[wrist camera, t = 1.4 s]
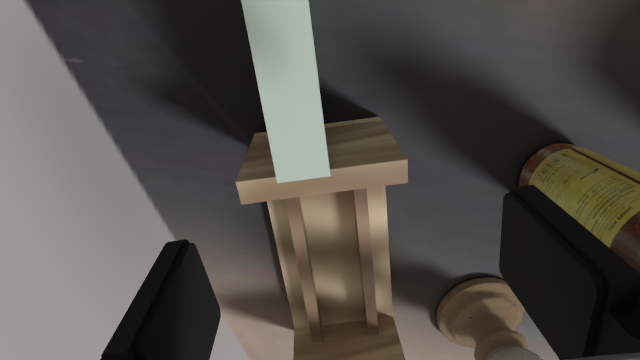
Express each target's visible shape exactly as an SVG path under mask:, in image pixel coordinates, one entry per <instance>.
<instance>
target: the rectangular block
mask: <svg viewBox="0 0 640 360" xmlns="http://www.w3.org/2000/svg"><path fill="white" fill-rule="evenodd" d="M241 2H242V7H243V13H244V18H245V23H246V28H247V33H248V38H249V43H250V48H251V53H252V58H253V63H254V68H255V73H256V78H257V83H258V89H259V94H260V99H261V104H262V109H263V114H264V119H265V124H266V129H267V134H268V139H269V144H270V149H271V154H272V159H273V164H274V170H275V175H276V180H277V183H283V182H290V181H298V180H306V179H313V178H321V177H328V176H331V175H330V167H329V159H328V151H327V144H326V136H325V128H324V120H323V112H322V104H321V96H320V89H319V81H318V73H317V65H316V57H315V49H314V41H313V34H312V26H311V18H310V10H309V2H308V0H241Z"/></svg>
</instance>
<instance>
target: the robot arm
mask: <svg viewBox="0 0 640 360" xmlns="http://www.w3.org/2000/svg"><path fill="white" fill-rule="evenodd" d="M499 267H500V272H501V275H502V277H503V278H504V280H505V281H506V283H507V284H508V286H509V287H510V289H511V290H512V291H513V293H514V294H515V296H516V297H517V299H518V300H519V301H520V303H521V304H522V306H523V307H524V309H525V310H526V312H527V313H528V314H529V316H530V317H531V319H532V320H533V322H534V323H535V325H536V326H537V327H538V329H539V330H540V332H541V333H542V335H543V336H544V337H545V339H546V340H547V342H548V343H549V345H550V346H551V348H552V349H553V350H554V352H555V353H556V355H557V356H558V358H559V359H560V360H640V273H639V272H638V271H636V270H635V269H634V268H633V267H632V266H630V265H629V264H628V263H627V262H626V261H625V260H623V259H622V258H621V257H620V256H619V255H617V254H616V253H615V252H614V251H613V250H611V249H610V248H609V247H608V246H607V245H605V244H604V243H603V242H602V241H601V240H599V239H598V238H597V237H596V236H595V235H593V234H592V233H591V232H590V231H589V230H587V229H586V228H585V227H584V226H583V225H581V224H580V223H579V222H578V221H577V220H575V219H574V218H573V217H572V216H571V215H569V214H568V213H567V212H566V211H565V210H563V209H562V208H561V207H560V206H559V205H557V204H556V203H555V202H554V201H553V200H551V199H550V198H549V197H548V196H547V195H545V194H544V193H543V192H542V191H541V190H539V189H538V188H537V187H536V186H534V185H526V186H519V187H513V188H511V189H510V191H509V193H506V194H505V195H504V199H503V214H502V230H501V246H500V262H499ZM219 321H220V307H219V304H218V302H217V299H216V297H215V294H214V292H213V289H212V286H211V284H210V281H209V279H208V276H207V273H206V271H205V268H204V266H203V263H202V261H201V258H200V255H199V253H198V250H197V248H196V246H195V244H194V243H189V241H188V240H186V239H185V240H178V241H172V242H168V243H166V244H165V245H164V247H163V249H162V251H161V252H160V254H159V256H158V258H157V259H156V261H155V263H154V265H153V266H152V268H151V270H150V272H149V273H148V275H147V277H146V278H145V280H144V282H143V284H142V285H141V287H140V289H139V291H138V292H137V294H136V296H135V298H134V299H133V301H132V303H131V305H130V307H129V308H128V310H127V312H126V314H125V315H124V317H123V319H122V320H121V322H120V324H119V326H118V327H117V329H116V331H115V333H114V334H113V336H112V338H111V340H110V341H109V343H108V345H107V347H106V348H105V350H104V352H103V354H102V355H101V356H102V358H101V360H209V358H210V355H211V351H212V347H213V344H214V340H215V336H216V332H217V329H218V325H219Z"/></svg>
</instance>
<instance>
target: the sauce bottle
mask: <svg viewBox="0 0 640 360" xmlns="http://www.w3.org/2000/svg"><path fill="white" fill-rule="evenodd" d="M526 185H534V186H536V187H537V188H538V189H539V190H541V191H542V192H543V193H544V194H545V195H547V196H548V197H549V198H550V199H551V200H553V201H554V202H555V203H556V204H557V205H559V206H560V207H561V208H562V209H563V210H565V211H566V212H567V213H568V214H569V215H571V216H572V217H573V218H574V219H575V220H577V221H578V222H579V223H580V224H581V225H583V226H584V227H585V228H586V229H587V230H589V231H590V232H591V233H592V234H593V235H595V236H596V237H597V238H598V239H599V240H601V241H602V242H603V243H604V244H605V245H607V246H608V247H609V248H610V249H611V250H613V251H614V252H615V253H616V254H617V255H619V256H620V257H621V258H622V259H623V260H625V261H626V262H627V263H628V264H629V265H630V266H632V267H633V268H634V269H635V270H636V271H638V272H639V273H640V173H638V172H636V171H634V170H631V169H629V168H627V167H625V166H623V165H621V164H619V163H616V162H614V161H612V160H610V159H608V158H606V157H603V156H601V155H599V154H597V153H595V152H593V151H591V150H588V149H586V148H583V147H577V146H575V145H571V144H561V143H558V144H552V145H549V146H546V147H544V148H543V149H541V150H540V151H538V152H537V153H535V154H533V155H532V156H531V157H530V159H528V160H527V162H526V164H525V165H524V166H523V168H522V171H521V173H520V179H519V186H526Z"/></svg>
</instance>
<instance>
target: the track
mask: <svg viewBox="0 0 640 360" xmlns="http://www.w3.org/2000/svg"><path fill="white" fill-rule="evenodd" d="M324 128H325V136H326V144H327V151H328V159H329V167H330V175H331V176H328V177H321V178H313V179H306V180H298V181H290V182H283V183H277V180H276V175H275V170H274V164H273V159H272V154H271V149H270V144H269V139H268V134H267V132H262V133H255V134H254V136H253V139H252V141H251V144H250V147H249V149H248V152H247V154H246V157H245V160H244V162H243V165H242V167H241V170H240V172H239V175H238V178H237V180H236V185H237V189H238V193H239V197H240V201H241V205H242V204H249V203H257V202H265V201H267V204H268V209H269V214H270V218H271V223H272V227H273V232H274V237H275V241H276V246H277V250H278V255H279V260H280V264H281V269H282V274H283V278H284V283H285V287H286V292H287V297H288V301H289V306H290V310H291V315H292V320H293V324H294V360H405V357H404V354H403V350H402V347H401V343H400V340H399V336H398V333H397V329H396V326H395V322H394V318H393V308H392V291H391V274H390V257H389V240H388V223H387V206H386V189H385V186H386V185H394V184H402V183H408V164H407V158H406V157H405V155H404V154H403V152H402V150H401V149H400V147H399V146H398V144H397V143H396V141H395V140H394V138H393V137H392V135H391V134H390V132H389V131H388V129H387V128H386V126H385V125H384V123H383V122H382V120H381V119H380V117H372V118H365V119H358V120H350V121H343V122H335V123H328V124H324Z"/></svg>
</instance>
